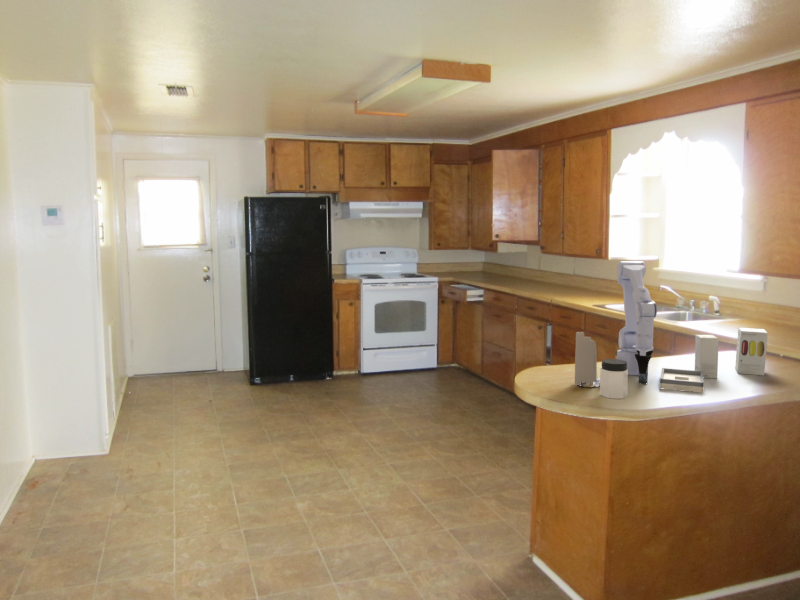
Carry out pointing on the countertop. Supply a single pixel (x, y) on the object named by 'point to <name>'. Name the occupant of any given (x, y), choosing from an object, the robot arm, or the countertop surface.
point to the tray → (682, 380)
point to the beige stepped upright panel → (585, 359)
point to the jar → (613, 378)
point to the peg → (643, 377)
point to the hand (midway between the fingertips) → (643, 371)
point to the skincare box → (706, 355)
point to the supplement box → (751, 351)
